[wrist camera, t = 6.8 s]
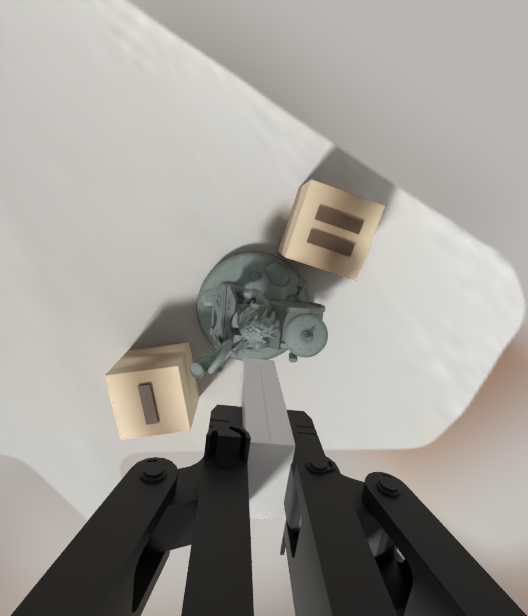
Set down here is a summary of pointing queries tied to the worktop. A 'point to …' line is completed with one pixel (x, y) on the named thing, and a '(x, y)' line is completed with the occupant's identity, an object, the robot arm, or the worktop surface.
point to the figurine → (256, 312)
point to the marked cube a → (153, 391)
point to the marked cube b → (330, 229)
